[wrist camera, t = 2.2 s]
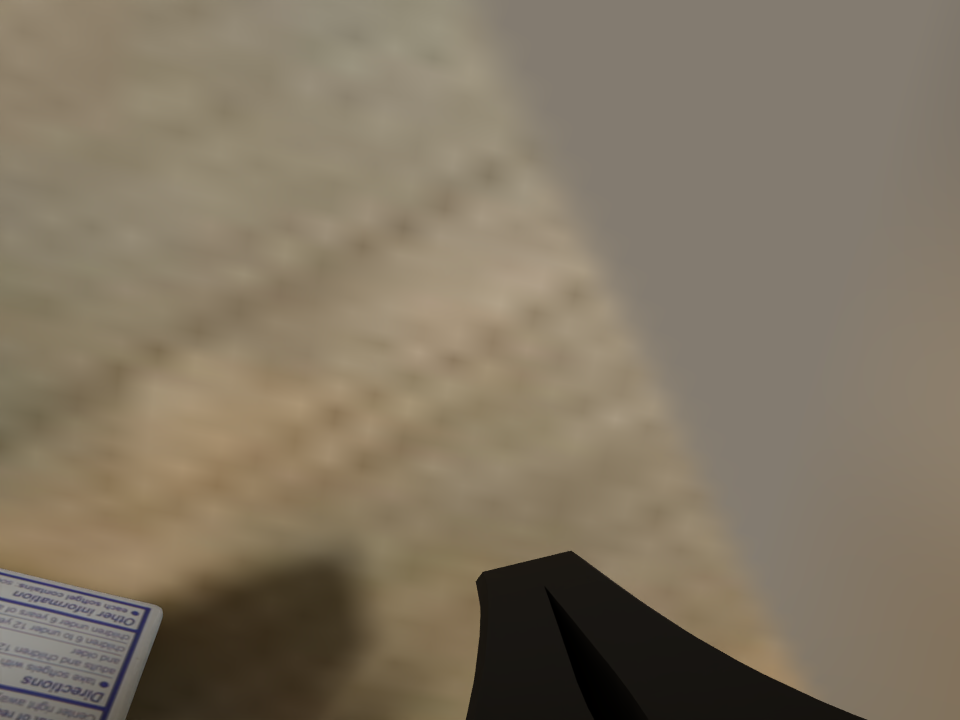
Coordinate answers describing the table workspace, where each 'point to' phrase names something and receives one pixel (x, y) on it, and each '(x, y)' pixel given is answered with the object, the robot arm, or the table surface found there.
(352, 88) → the table surface
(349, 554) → the table surface
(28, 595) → the medicine box
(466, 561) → the table surface
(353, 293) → the table surface
